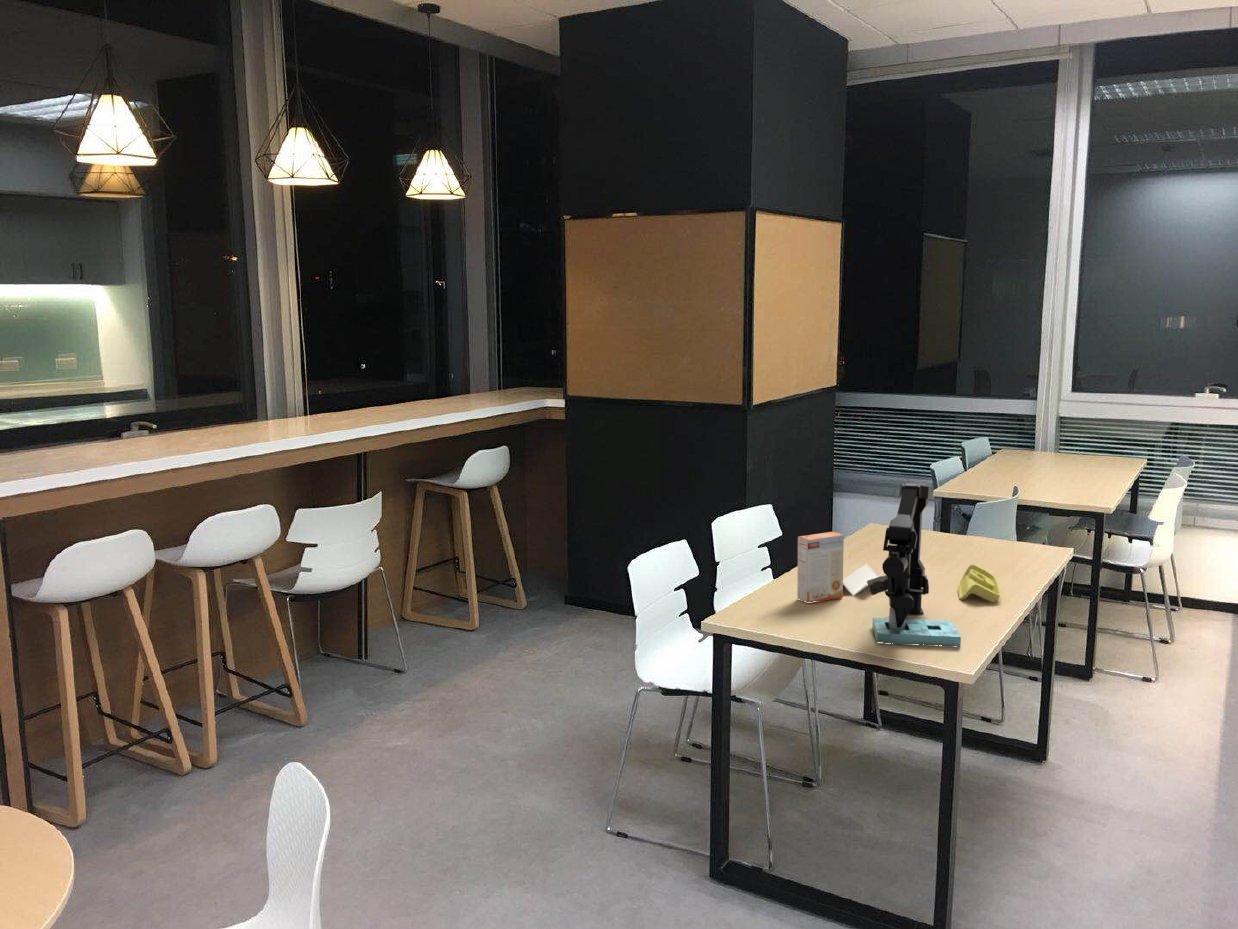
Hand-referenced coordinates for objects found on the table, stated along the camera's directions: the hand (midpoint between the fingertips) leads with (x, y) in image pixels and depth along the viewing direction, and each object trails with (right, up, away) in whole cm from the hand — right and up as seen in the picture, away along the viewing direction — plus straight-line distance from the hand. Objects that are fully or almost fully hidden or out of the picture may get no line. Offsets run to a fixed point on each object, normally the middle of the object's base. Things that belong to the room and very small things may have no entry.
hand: (897, 622), depth 273 cm
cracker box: (-14, +1, +36) cm, 39 cm away
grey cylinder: (0, -4, +1) cm, 4 cm away
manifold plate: (+5, -4, 0) cm, 6 cm away
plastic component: (+38, +2, +40) cm, 55 cm away
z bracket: (+2, +4, +51) cm, 51 cm away
